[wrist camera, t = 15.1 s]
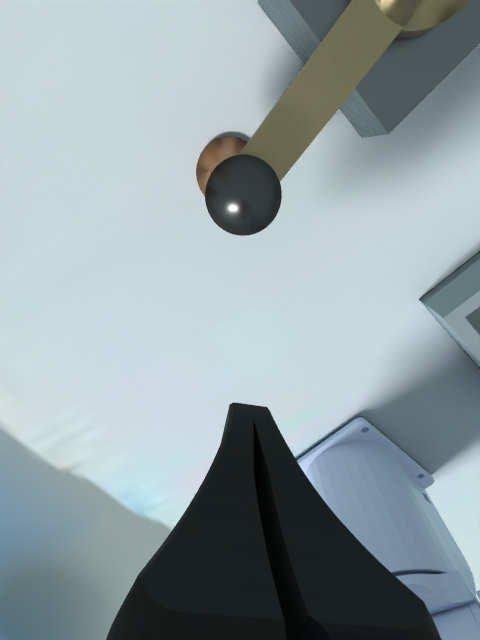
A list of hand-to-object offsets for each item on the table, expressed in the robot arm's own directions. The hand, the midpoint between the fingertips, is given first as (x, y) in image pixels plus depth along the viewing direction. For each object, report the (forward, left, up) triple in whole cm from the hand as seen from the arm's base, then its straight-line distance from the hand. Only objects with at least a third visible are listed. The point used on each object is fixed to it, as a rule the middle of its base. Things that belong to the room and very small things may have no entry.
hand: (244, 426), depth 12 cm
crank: (+5, -10, -6) cm, 13 cm away
